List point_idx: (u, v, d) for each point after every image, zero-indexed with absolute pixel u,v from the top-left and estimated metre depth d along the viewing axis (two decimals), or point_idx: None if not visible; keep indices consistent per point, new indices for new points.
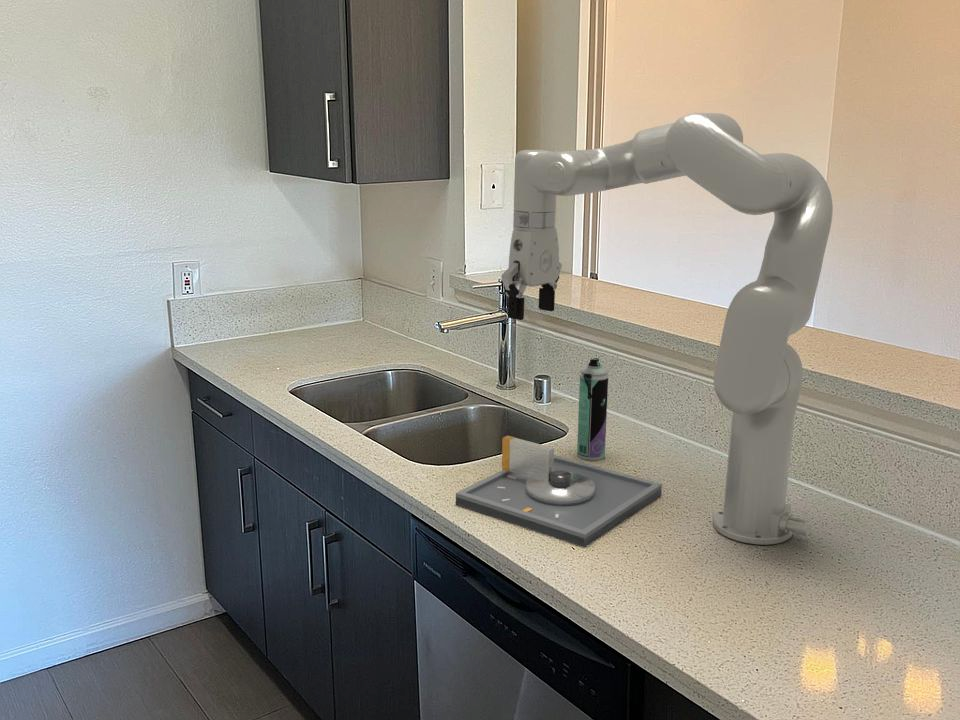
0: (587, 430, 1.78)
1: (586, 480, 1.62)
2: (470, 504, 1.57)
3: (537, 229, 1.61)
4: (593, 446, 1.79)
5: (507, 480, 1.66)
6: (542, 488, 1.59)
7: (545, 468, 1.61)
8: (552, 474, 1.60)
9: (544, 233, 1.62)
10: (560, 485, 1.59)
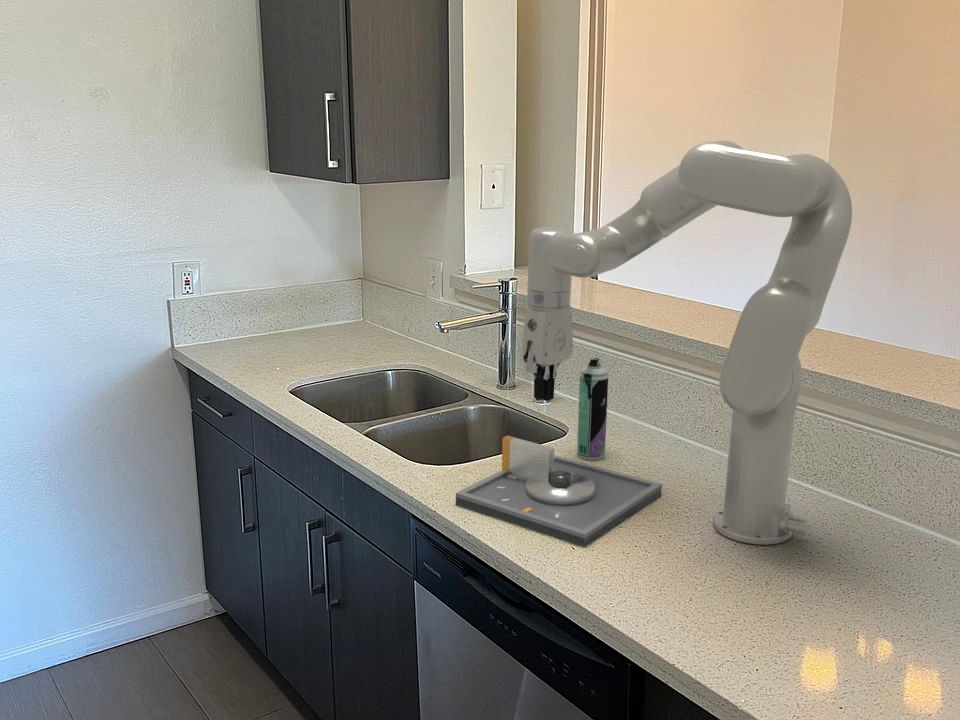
0: (587, 430, 1.78)
1: (586, 480, 1.62)
2: (470, 504, 1.57)
3: (552, 309, 1.58)
4: (593, 446, 1.79)
5: (507, 480, 1.66)
6: (542, 488, 1.59)
7: (545, 468, 1.61)
8: (552, 474, 1.60)
9: (558, 312, 1.59)
10: (560, 485, 1.59)
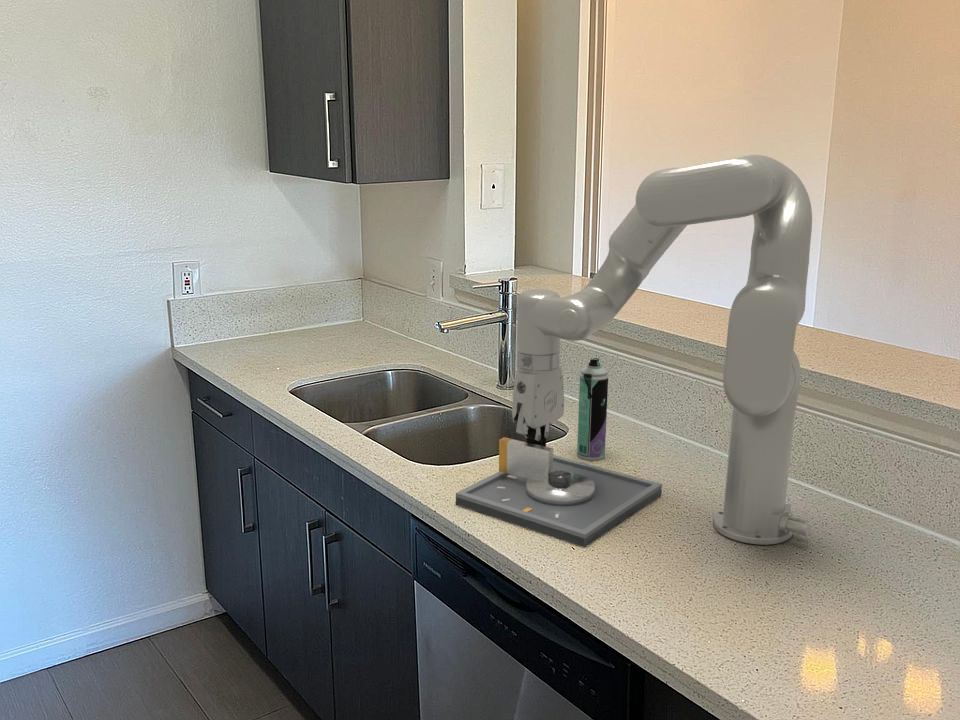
0: (587, 430, 1.78)
1: (584, 479, 1.63)
2: (470, 504, 1.57)
3: (541, 371, 1.58)
4: (593, 446, 1.79)
5: (507, 480, 1.66)
6: (543, 488, 1.58)
7: (545, 469, 1.61)
8: (552, 474, 1.60)
9: (548, 374, 1.60)
10: (561, 485, 1.59)
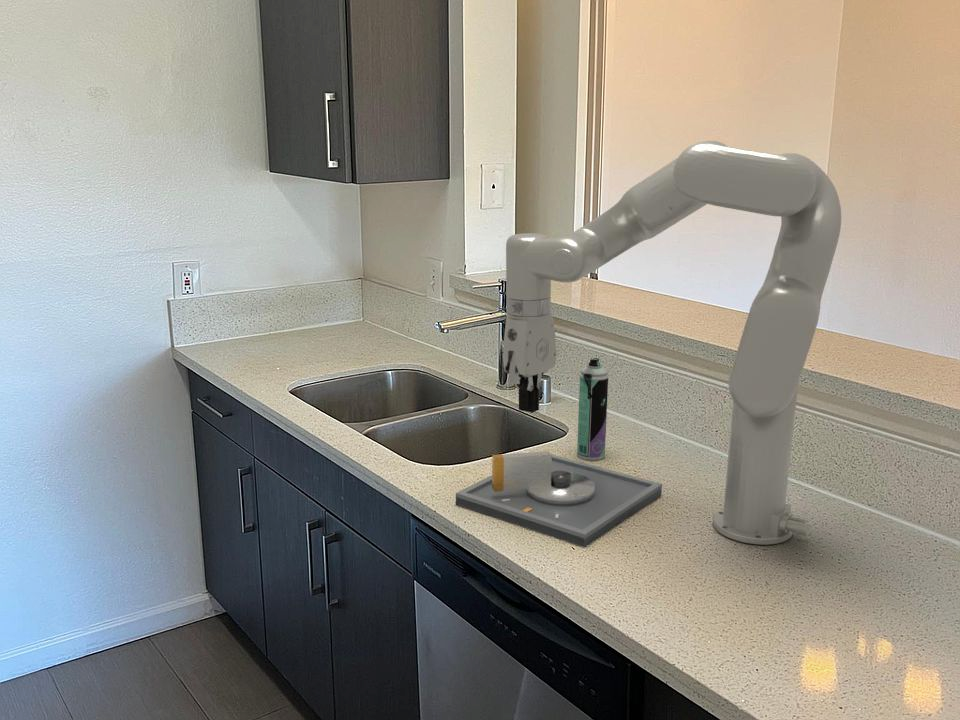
0: (587, 430, 1.78)
1: None
2: (470, 504, 1.57)
3: (532, 317, 1.53)
4: (593, 446, 1.79)
5: None
6: (558, 492, 1.57)
7: (547, 473, 1.58)
8: (556, 476, 1.59)
9: (539, 320, 1.54)
10: (568, 484, 1.59)
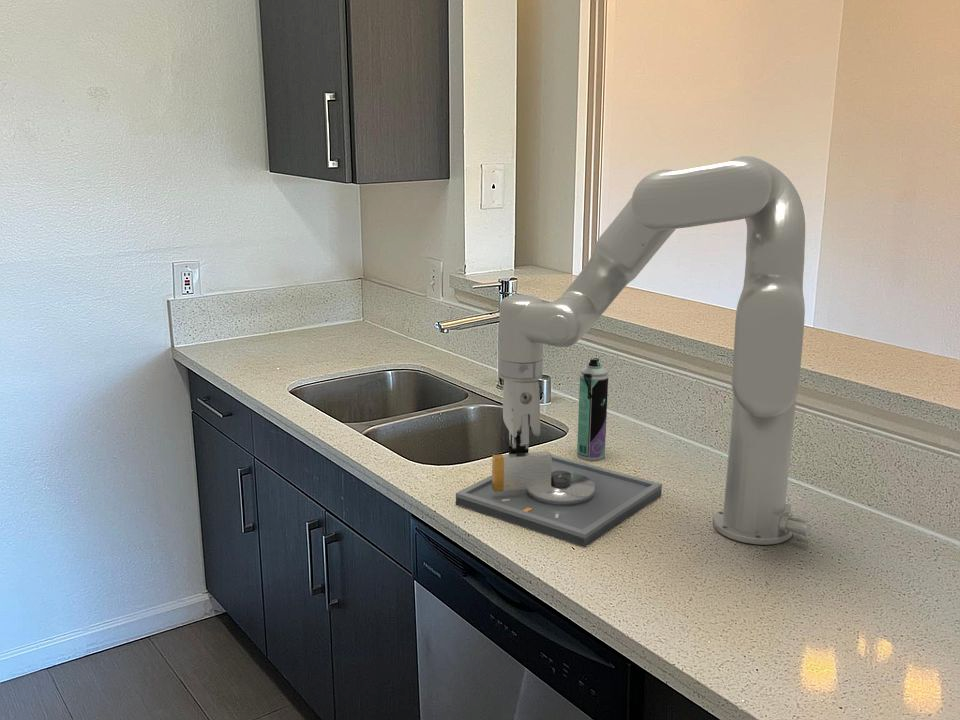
0: (587, 430, 1.78)
1: None
2: (470, 504, 1.57)
3: (538, 377, 1.55)
4: (593, 446, 1.79)
5: None
6: (558, 492, 1.57)
7: (547, 473, 1.58)
8: (556, 476, 1.59)
9: None
10: (568, 484, 1.59)
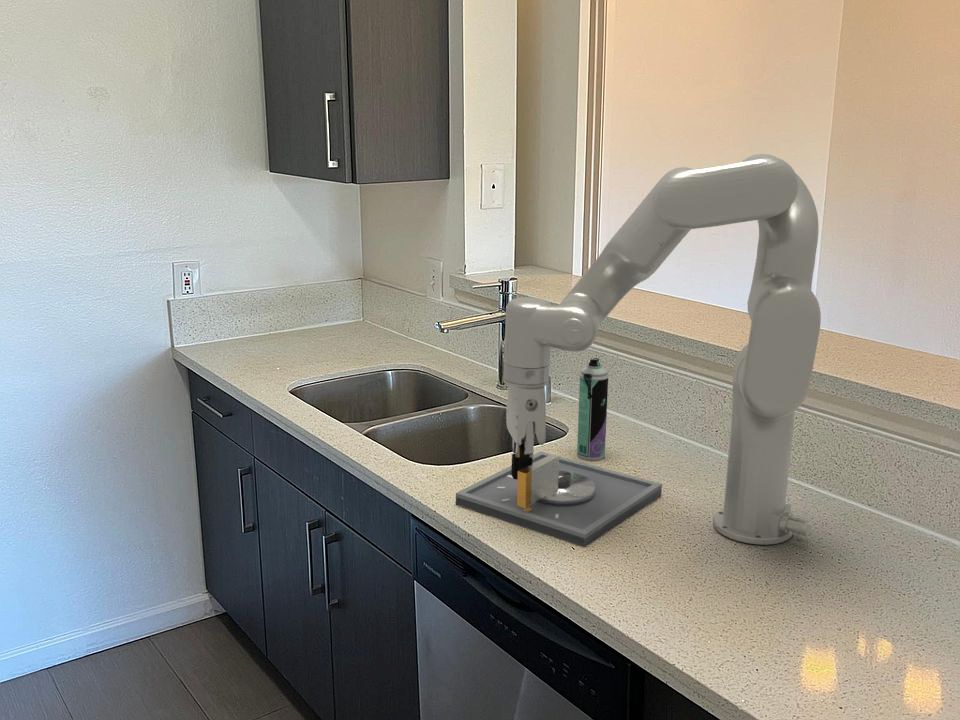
0: (587, 430, 1.78)
1: None
2: (470, 504, 1.57)
3: (545, 384, 1.49)
4: (593, 446, 1.79)
5: (507, 480, 1.66)
6: (573, 491, 1.57)
7: (556, 476, 1.57)
8: (561, 477, 1.59)
9: None
10: (570, 481, 1.60)
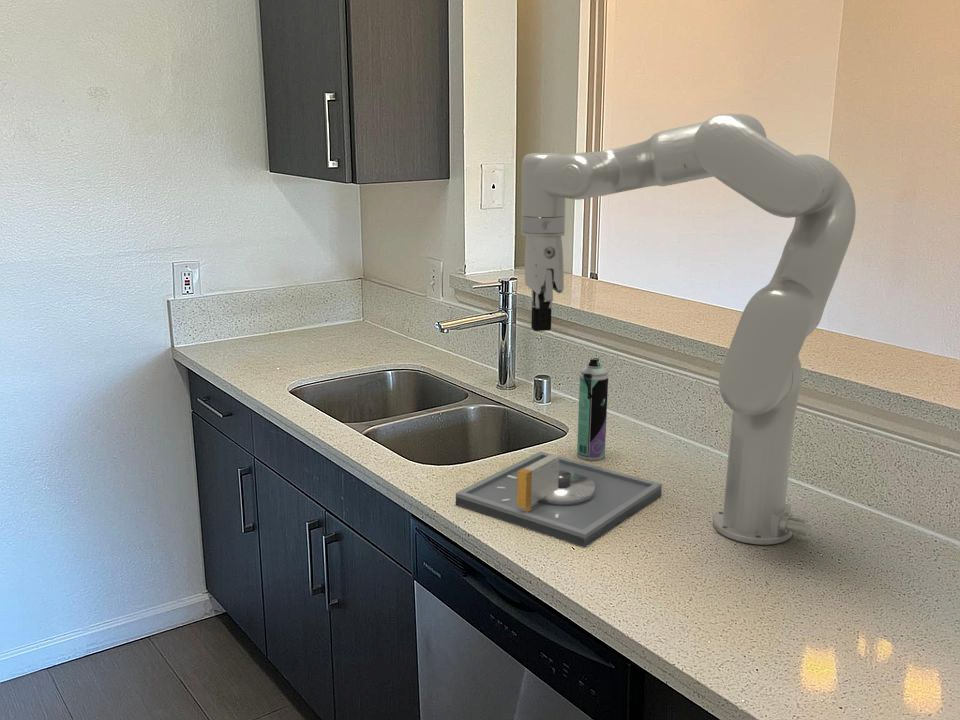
0: (587, 430, 1.78)
1: None
2: (470, 504, 1.57)
3: (561, 233, 1.57)
4: (593, 446, 1.79)
5: (507, 480, 1.66)
6: (573, 491, 1.57)
7: (556, 476, 1.57)
8: (561, 477, 1.59)
9: None
10: (570, 481, 1.60)
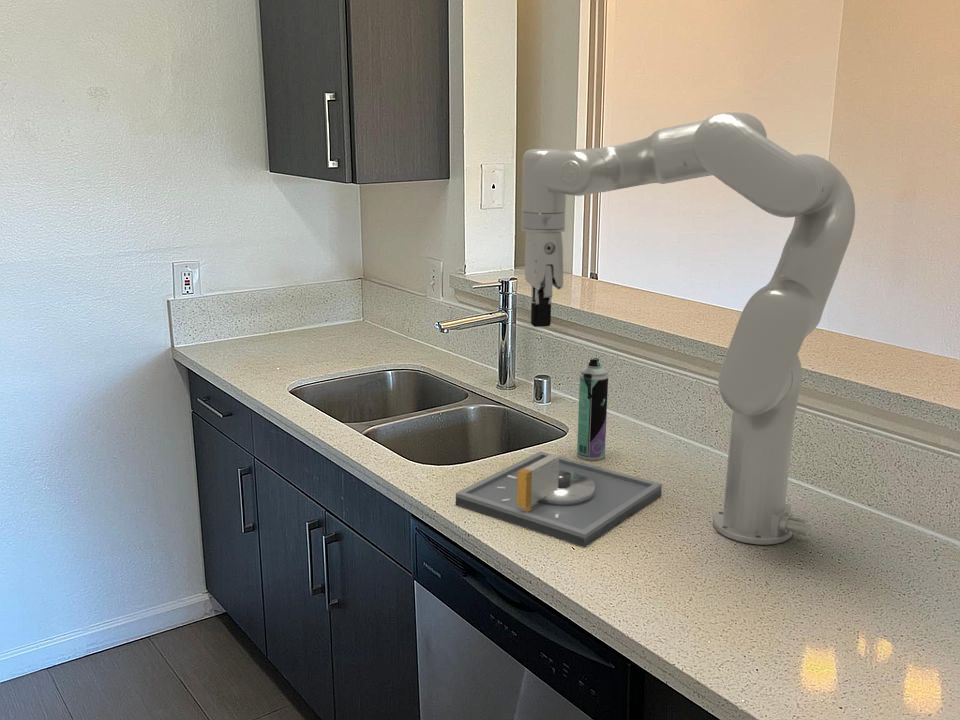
0: (587, 430, 1.78)
1: None
2: (470, 504, 1.57)
3: (561, 229, 1.57)
4: (593, 446, 1.79)
5: (507, 480, 1.66)
6: (573, 491, 1.57)
7: (556, 476, 1.57)
8: (561, 477, 1.59)
9: None
10: (570, 481, 1.60)
